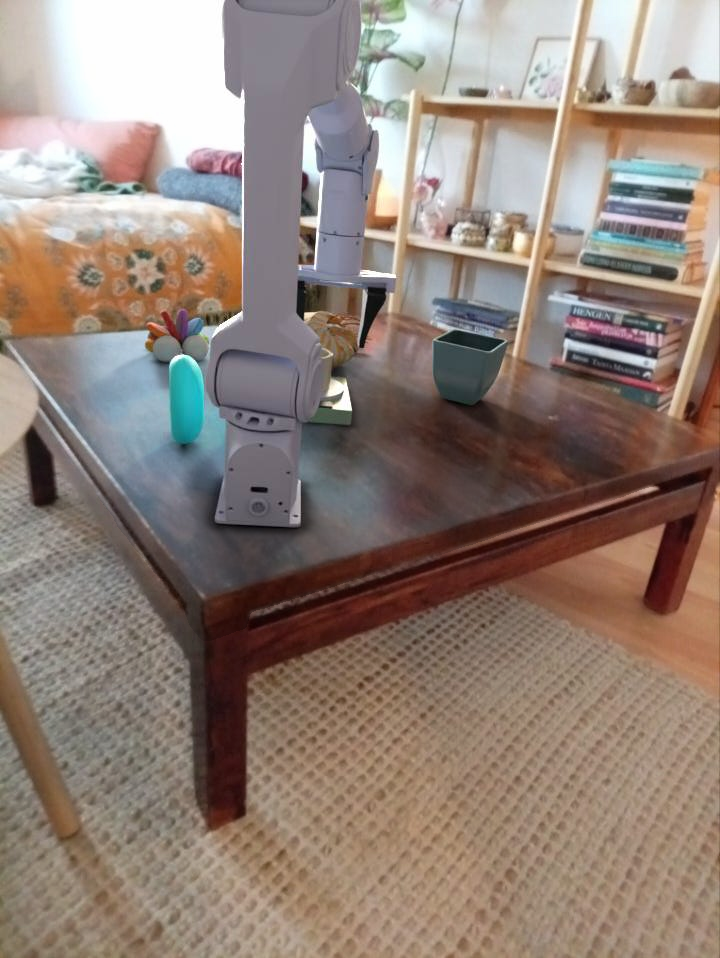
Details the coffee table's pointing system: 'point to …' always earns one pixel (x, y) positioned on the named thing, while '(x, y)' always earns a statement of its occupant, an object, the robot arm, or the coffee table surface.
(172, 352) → the rainbow peacock toy
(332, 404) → the scale
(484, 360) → the flower pot
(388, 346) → the coffee table surface
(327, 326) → the nautilus
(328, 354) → the white cup
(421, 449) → the coffee table surface
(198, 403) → the teal upright capsule
